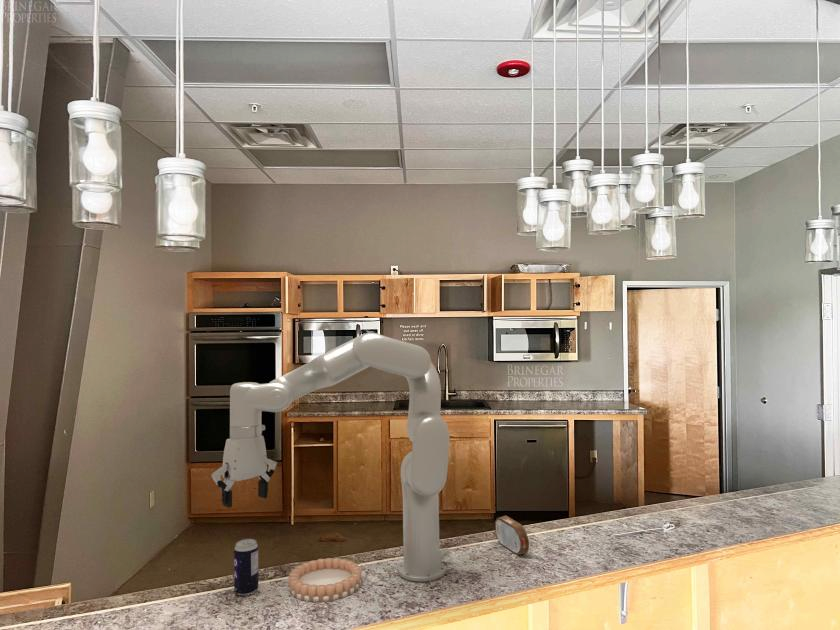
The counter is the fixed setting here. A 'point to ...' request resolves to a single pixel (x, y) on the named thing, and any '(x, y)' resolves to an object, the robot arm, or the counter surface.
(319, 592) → the round dish
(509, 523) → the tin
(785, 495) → the counter surface
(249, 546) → the beverage can
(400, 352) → the robot arm
